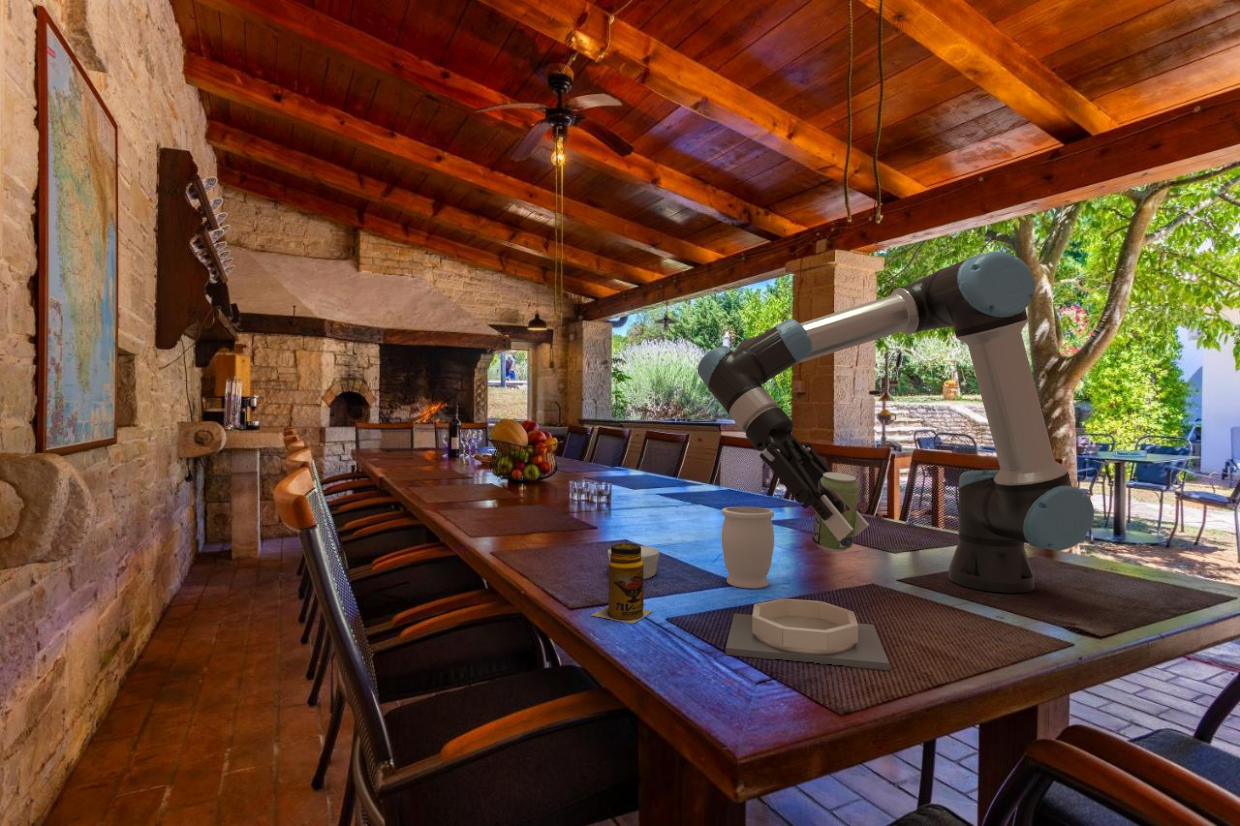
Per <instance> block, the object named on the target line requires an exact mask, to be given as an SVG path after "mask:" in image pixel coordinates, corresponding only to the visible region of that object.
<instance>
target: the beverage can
mask: <svg viewBox="0 0 1240 826" xmlns="http://www.w3.org/2000/svg"><path fill="white" fill-rule="evenodd" d="M818 491H819V492H820V494H821V495H820V496H819V497H821V496H822V495H826V496H827V498H828V499H829V500H830V501H831V503H832V504H833V505H834V506H835V507H836V509H837V510H838V511H839V512H840V513H841V515H842V516H843V517H844V518H845V520H846V521H847V522H848V523H849V524H850V526H851V527H852V528H853V530H852V531H851V532H850V533H849V534H848V535H846V536H845V537H844V538H843V539H842V540H840V541H838V539H837V538H836V537H835V536H834V534H833V533H832V532H831V531H830V529H829V528H828V527H827V526H826V524H825V523H824V522H823V521H822V519H821V518H820V517H819V516H818V514H817V513H816V512H815V511H814V519H813V527H812V528H813V531H812V539H811V540H812V541H813V542H814V543H815V544H816V545H817V546H818V547H819V548H820V549H823V550H825V551H830V552H837V553H838V552H844V551H847V549H850V548H852V547H853V543H854V542H853V541H854V537H855V536H854V527H855V519H856V510H857V509H858V499H859V493H860V485H859V484H858V482H857V477H856V476H854V475H852V474H849V473H846V472H845V473H844V472H837V471H832V472H826V473H823V477H822V478H821V479H820V480H819V482H818ZM857 511H858V510H857Z"/></svg>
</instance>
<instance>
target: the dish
mask: <svg viewBox="0 0 1240 826" xmlns="http://www.w3.org/2000/svg"><path fill="white" fill-rule="evenodd" d="M751 615H752V633H753V634H754V636H755V637H756V638H757V639H758V640H759V641H761V642H762V643H764V644H766V645H768V646H771V647H773V648H777V649H780V650H784V651H788V652H794V653H800V654H811V655H827V654H836V653H841V652H845V651H848V650H850V649H851V648H853V647H854V646H855V644H856V643H857V642H858V624H859V623H858V621H857V618H856V613H855V612H854V611H852V610H849V609H847V608H843V607H840V606H838V605H835V604H831V603H828V602H825V601H821V600H809V599H797V598H796V599H795V598H778V599H773V600H768V601H762V602H758V603H754V604H753V610H752V614H751Z"/></svg>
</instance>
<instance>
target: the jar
mask: <svg viewBox="0 0 1240 826" xmlns="http://www.w3.org/2000/svg"><path fill="white" fill-rule="evenodd" d="M774 512H775V511H774V510H772V509H770V508H765V507H759V506H729V507H724V508H722V509H721V513H722V515H723V517H724V520H723V523H722V526H721V527H722V529H721V547H722V554H723V561H724V565H725V569H726V570H727V573H728V576H727V578H726V582H727V583H726V584H728V585H730V586H732V587H734V588H735V587H736V588H741V589H742V588H743V589H751V590H752V589H753V590H754V589H762V588H765V587H767V586H769V583H770V582H769V579H768V578H767V575H769V572H770V570H771V566H772V560H773V553H774V548H775V531H774V525H773V522H772V518H774V516H775V513H774Z"/></svg>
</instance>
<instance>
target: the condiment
mask: <svg viewBox="0 0 1240 826" xmlns="http://www.w3.org/2000/svg"><path fill="white" fill-rule="evenodd" d="M640 546H641V545H639V544H636V543H630V542H629V543H628V542H623V543H622V542H620V543H616V544H613V545H612V546H611V547H610V549H611V555H610V558H611V560H610V561H609V560H608V573H607V574H608V576H607V577H608V578H607V579H608V594H607V595H608V602H607V603H608V605H606V606H605V607H604V608H601V609H600V610H598V611H595V612H594V613H592V614H590V616H591V617H596V618H604V619H607V620H611V621H617V622H621V623H627V624H636V623H637V622H639V621H640V620H642V619H644V618H645V617H647V616H648V615H649V614H650V613H652V612H653V610H649V609H644V607H645V605H644V604H645V603H644V600H645V598H644V594H645V591H644V589H645V587H644V584H645V583H644V579H643V576H644V570H643V569H644V566H643V562H642V560H641V557H642V555H641V547H640Z"/></svg>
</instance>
